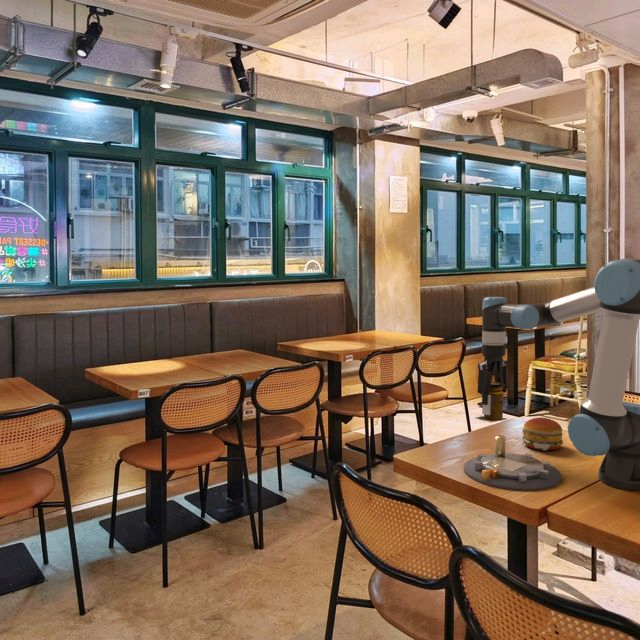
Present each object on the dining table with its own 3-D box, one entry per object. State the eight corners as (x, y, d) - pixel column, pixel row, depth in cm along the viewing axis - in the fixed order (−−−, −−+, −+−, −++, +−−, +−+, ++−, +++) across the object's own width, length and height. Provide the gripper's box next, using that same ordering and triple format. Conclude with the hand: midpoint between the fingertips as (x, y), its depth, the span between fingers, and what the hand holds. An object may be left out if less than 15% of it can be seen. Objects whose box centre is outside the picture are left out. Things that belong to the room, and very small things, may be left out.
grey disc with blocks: (524, 455, 200) (525, 430, 199) (566, 478, 178) (567, 451, 178) (461, 460, 195) (461, 435, 194) (497, 485, 173) (498, 457, 172)
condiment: (508, 419, 205) (509, 383, 204) (491, 423, 200) (491, 386, 199) (490, 415, 211) (491, 380, 210) (473, 418, 206) (474, 383, 205)
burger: (560, 442, 218) (561, 415, 217) (565, 454, 205) (566, 425, 204) (520, 440, 221) (521, 412, 220) (523, 451, 208) (524, 422, 207)
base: (579, 475, 184) (580, 464, 184) (525, 498, 167) (526, 485, 167) (500, 452, 206) (500, 442, 206) (444, 470, 189) (445, 459, 188)
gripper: (501, 340, 213) (500, 406, 215) (466, 345, 201) (465, 415, 203) (520, 342, 207) (519, 410, 209) (485, 347, 195) (484, 419, 197)
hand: (492, 412), depth 206 cm, fingers closed on condiment, 6 cm apart
